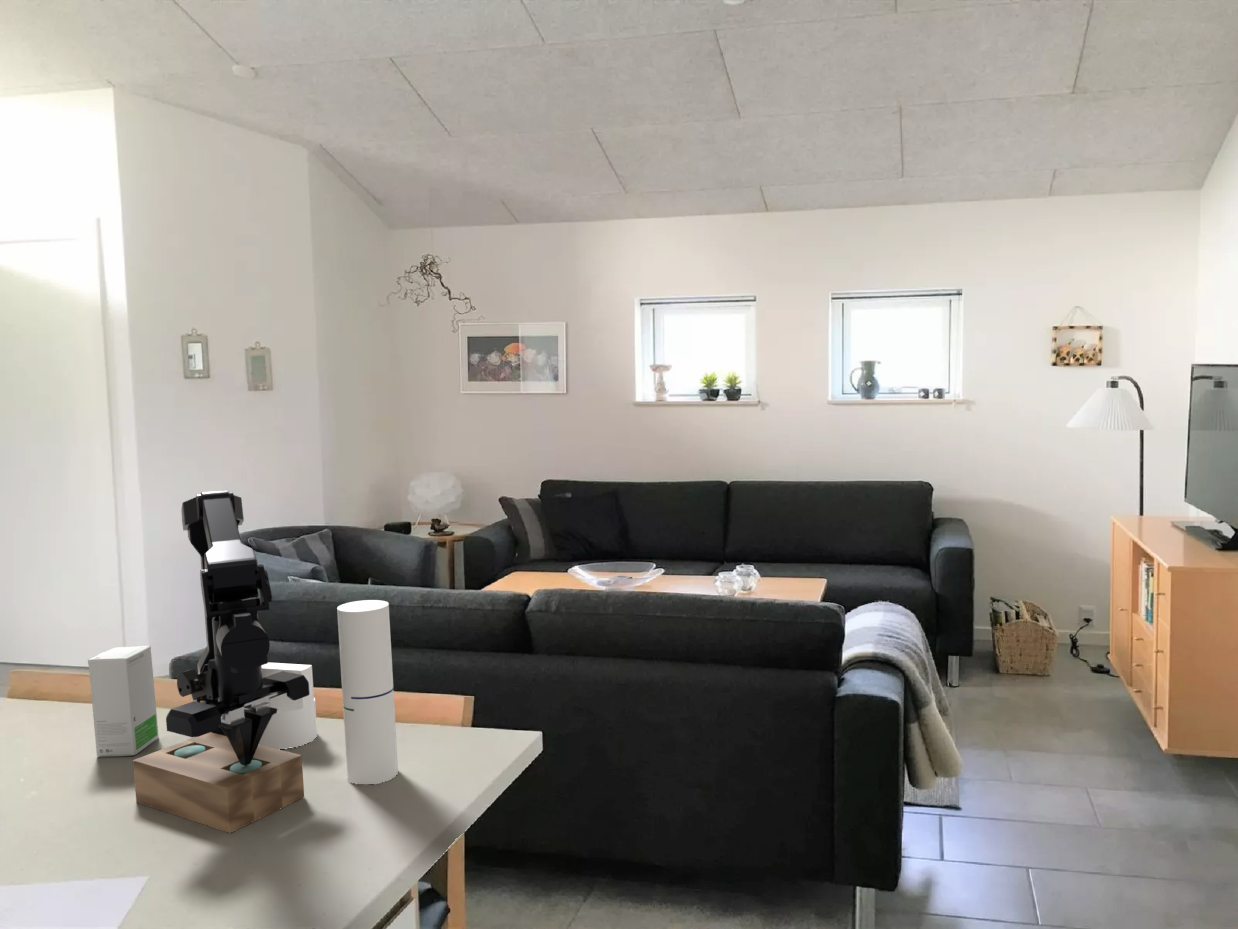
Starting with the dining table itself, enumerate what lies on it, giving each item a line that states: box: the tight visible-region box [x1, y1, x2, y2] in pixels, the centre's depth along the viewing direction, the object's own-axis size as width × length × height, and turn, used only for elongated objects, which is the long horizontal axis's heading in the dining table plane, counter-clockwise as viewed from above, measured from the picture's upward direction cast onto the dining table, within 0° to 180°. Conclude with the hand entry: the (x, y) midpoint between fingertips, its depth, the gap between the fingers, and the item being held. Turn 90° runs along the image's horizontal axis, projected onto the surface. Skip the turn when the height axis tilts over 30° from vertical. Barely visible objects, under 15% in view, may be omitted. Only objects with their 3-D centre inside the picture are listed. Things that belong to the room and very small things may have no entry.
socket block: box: [132, 732, 305, 834], centre depth 137 cm, size 12×20×6 cm, turn 59°
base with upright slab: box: [259, 662, 318, 750], centre depth 159 cm, size 9×9×12 cm
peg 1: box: [174, 745, 205, 759], centre depth 140 cm, size 4×4×6 cm
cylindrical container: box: [336, 599, 399, 785], centre depth 142 cm, size 7×7×25 cm
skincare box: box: [87, 645, 160, 758], centre depth 157 cm, size 8×7×16 cm
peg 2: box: [230, 760, 262, 775], centre depth 133 cm, size 4×4×6 cm
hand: (245, 764), depth 133 cm, fingers closed
